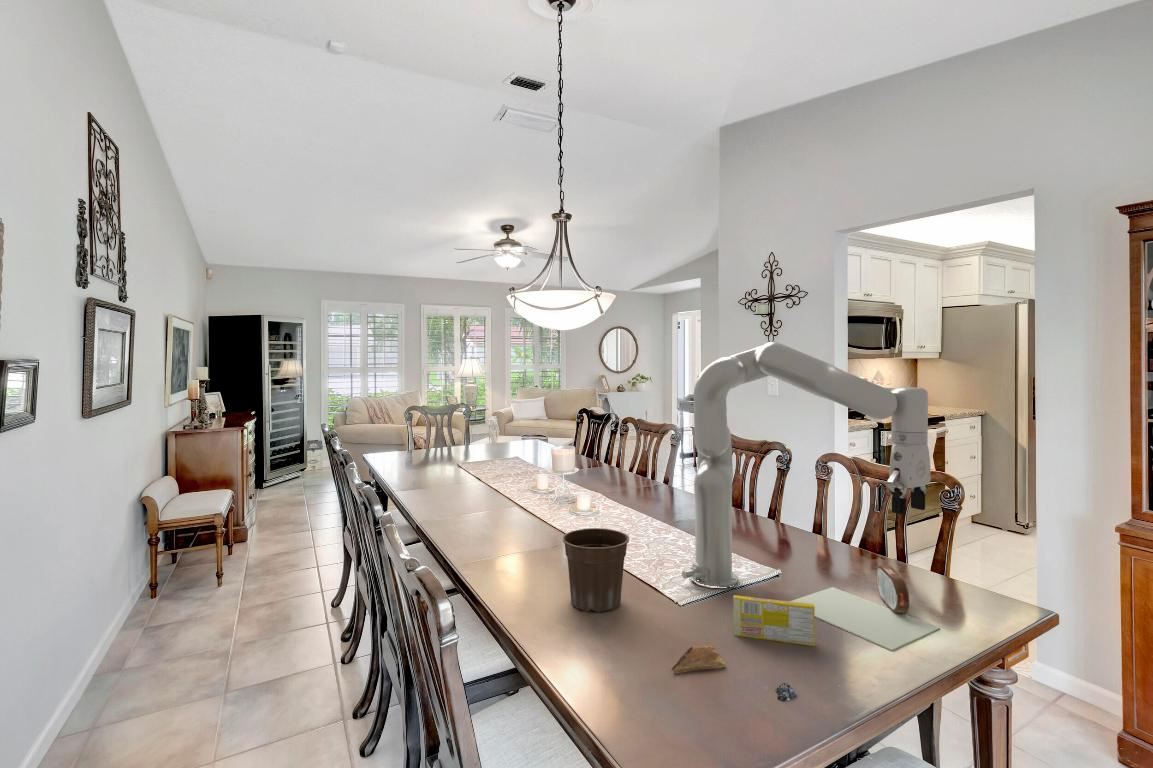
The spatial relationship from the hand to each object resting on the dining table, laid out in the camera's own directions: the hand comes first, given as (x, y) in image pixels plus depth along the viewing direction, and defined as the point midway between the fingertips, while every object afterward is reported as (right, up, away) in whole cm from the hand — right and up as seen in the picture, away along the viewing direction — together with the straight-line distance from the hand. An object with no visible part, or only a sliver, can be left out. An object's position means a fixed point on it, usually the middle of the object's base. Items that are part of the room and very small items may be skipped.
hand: (908, 510), depth 137 cm
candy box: (-39, -23, -17) cm, 49 cm away
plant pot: (-76, -23, +2) cm, 79 cm away
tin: (-6, -22, -3) cm, 23 cm away
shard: (-56, -24, -27) cm, 67 cm away
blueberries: (-44, -25, -36) cm, 62 cm away
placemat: (-16, -22, -7) cm, 28 cm away
